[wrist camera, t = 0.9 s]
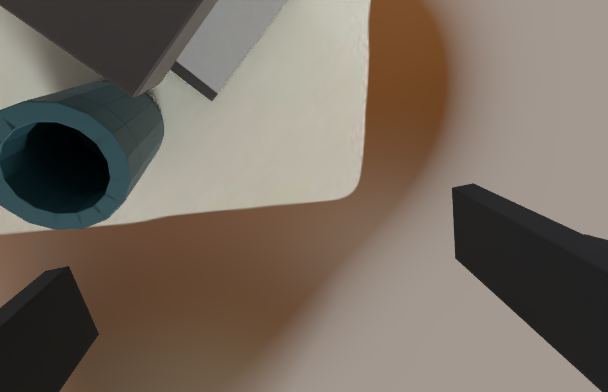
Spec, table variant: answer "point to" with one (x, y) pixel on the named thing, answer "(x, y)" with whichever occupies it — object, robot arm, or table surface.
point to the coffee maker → (153, 37)
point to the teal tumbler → (75, 153)
